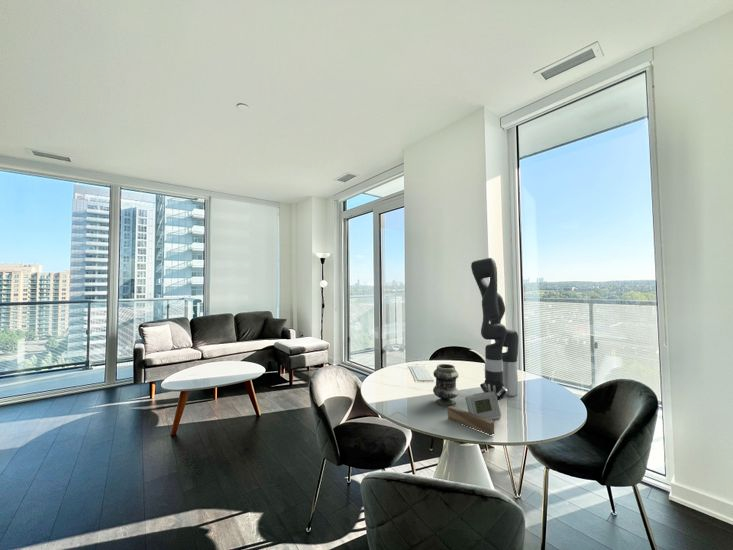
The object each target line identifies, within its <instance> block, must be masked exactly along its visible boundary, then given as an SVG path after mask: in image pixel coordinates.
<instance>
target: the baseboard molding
mask: <svg viewBox="0 0 733 550" xmlns="http://www.w3.org/2000/svg"><path fill="white" fill-rule="evenodd" d="M418 364H419V363H416V364H415V365H411V366H409V365H407V368H409V370H410V373H411V372H412V373H411V374H413V375H412V377H413V378H414V381H415V382H416V381H434V382H435V380H434V379H433V377H432V375H431V373H430V372H429V370H428V369H427V368H426V366H425V365H418Z"/></svg>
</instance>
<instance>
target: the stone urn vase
mask: <svg viewBox="0 0 733 550" xmlns="http://www.w3.org/2000/svg"><path fill="white" fill-rule="evenodd" d="M432 375H433V377H434V378H435V386H433V389H432V391H433V394H434V395H435V396H436V397H437V398H438V399H436V400H435V404H436V405H438V406H440V407H445V408H448V407H450V406H453V407H455V405H457V402H456V401H455V400H454V399H455V398H456V397H458V396H459V393H460V392H459V391H460V390H458V388H457V379H458V378H459V373H458V371H457V370H456V367H455V365H453V364H449V363H439V364H437V365H436V368H435V369H434V371H433V374H432Z"/></svg>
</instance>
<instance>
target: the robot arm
mask: <svg viewBox="0 0 733 550" xmlns="http://www.w3.org/2000/svg"><path fill="white" fill-rule="evenodd" d="M470 268H471V272H472V275H473V278H474V279H475V282H476V285H477V286H478V289H479V292H480V295H481V298H482V299H481V308H482V323H481V328H480V336H481V337H482V338H483V339H484V340H491V341H492V340H493V341H494V343H490V344H489V343H488V344H487V345H485V350H484V351H485V352H484V354H485V355H484V356H485V361H484V379H485V380H484V382H483V383H482V382H481V384H480V388H481V390H482V392H483V393H484V392H492V391H493V392H494V393H495V395H496V396H497V400H498V401H500V400H503V399H504V398H505V396H506V397H507V396H509V397H515V396H517V395H518V388H519V387H518V382H519V381H518V379H519V378H518V377H519V376H518V356H519V355H518V354H519V334H518V332H517V331H516V330H513V329H507V328H506V326H505V325H504V324H503V323H501V322H502V319H503V317H504V316H505V312H506V306H505V302H504V299H503V297H502V296H501V294H500V293H499V292H498V268H497V264H496V261H495V259H494V258H492V257H486V258H483V259H477V260H474V261H472V262H471V263H470ZM488 278H489V281H488V282H489V283H487V282H486V281H485V279H488ZM504 348H507V350H506V351H505V352H503V349H504Z"/></svg>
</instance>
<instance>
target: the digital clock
mask: <svg viewBox="0 0 733 550" xmlns="http://www.w3.org/2000/svg"><path fill="white" fill-rule="evenodd" d="M465 401H466V402H465V403H466V405H467V406H466V407H467V410H468V411H467V412H469V413H472V414H475V415H477V416H480V417H483V418H486V419H488V420H492V421H495V420H497V419H501V418H502V413H501V409H500V404H499V400H497V396H496V395H495V393H494V392H493V391H492V392H484V391H483V392H480V393H474V394H472V395H466V396H465Z"/></svg>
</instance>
